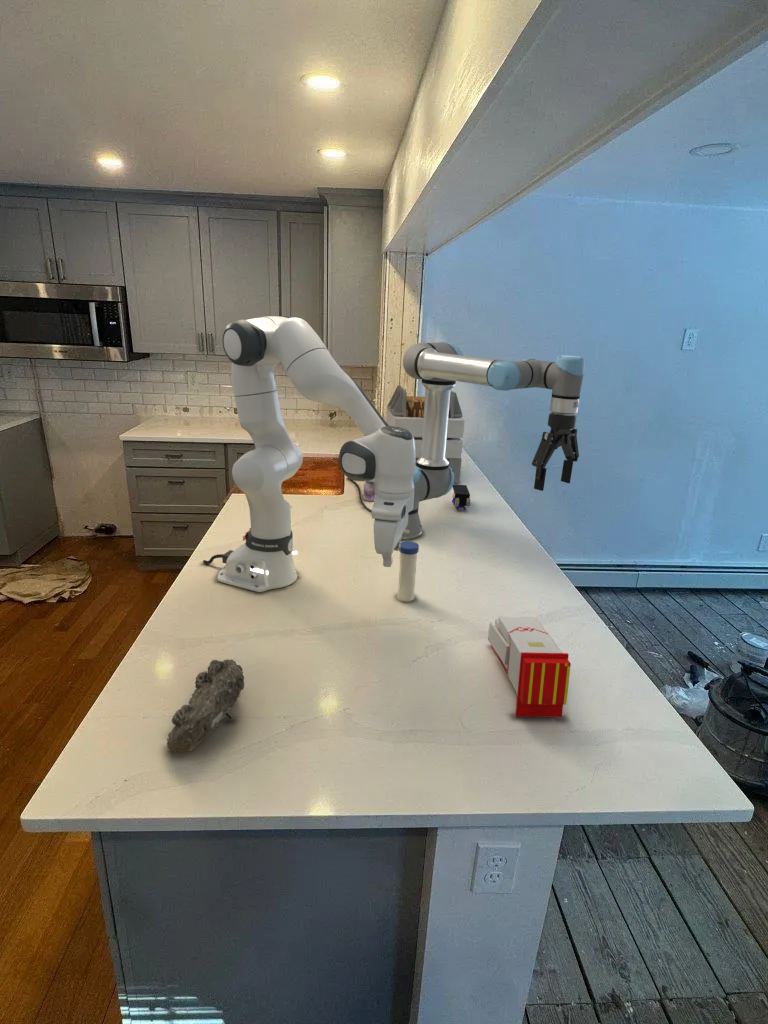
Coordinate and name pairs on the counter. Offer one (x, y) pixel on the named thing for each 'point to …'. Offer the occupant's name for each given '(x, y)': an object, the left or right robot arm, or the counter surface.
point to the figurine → (369, 491)
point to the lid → (409, 547)
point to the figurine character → (461, 496)
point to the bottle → (407, 577)
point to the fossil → (206, 705)
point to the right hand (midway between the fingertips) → (552, 485)
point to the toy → (531, 665)
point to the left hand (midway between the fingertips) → (392, 557)
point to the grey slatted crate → (411, 416)
